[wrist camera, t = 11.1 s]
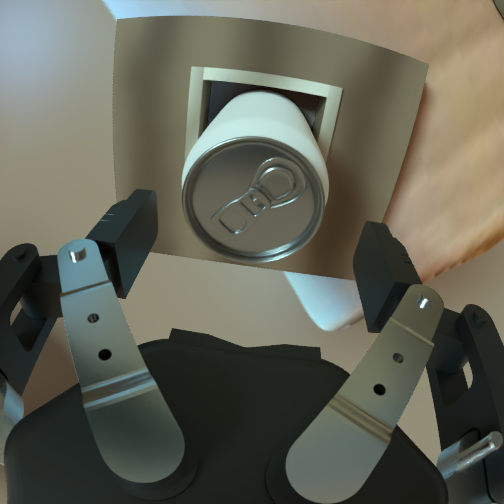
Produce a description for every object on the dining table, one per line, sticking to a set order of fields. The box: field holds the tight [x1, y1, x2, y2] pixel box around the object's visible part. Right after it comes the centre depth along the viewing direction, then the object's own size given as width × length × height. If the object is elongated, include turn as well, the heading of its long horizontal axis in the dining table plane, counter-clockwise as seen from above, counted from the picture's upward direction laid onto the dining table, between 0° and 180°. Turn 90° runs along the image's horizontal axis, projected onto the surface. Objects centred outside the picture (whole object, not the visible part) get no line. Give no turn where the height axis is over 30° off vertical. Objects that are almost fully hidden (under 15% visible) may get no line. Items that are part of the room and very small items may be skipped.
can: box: [182, 89, 329, 264], centre depth 17 cm, size 6×6×12 cm
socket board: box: [113, 16, 429, 280], centre depth 21 cm, size 20×18×3 cm
